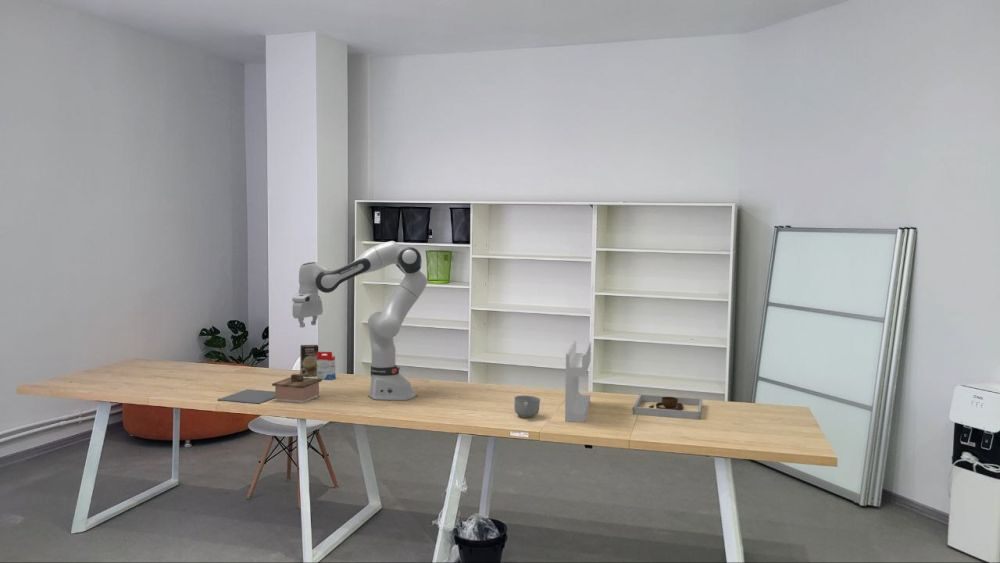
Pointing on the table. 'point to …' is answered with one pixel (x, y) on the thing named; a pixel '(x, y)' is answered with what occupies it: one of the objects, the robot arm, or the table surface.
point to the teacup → (526, 406)
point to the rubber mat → (250, 396)
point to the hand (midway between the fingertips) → (308, 326)
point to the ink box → (325, 366)
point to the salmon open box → (297, 393)
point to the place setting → (669, 404)
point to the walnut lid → (297, 381)
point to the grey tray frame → (667, 412)
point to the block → (576, 384)
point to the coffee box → (308, 360)
